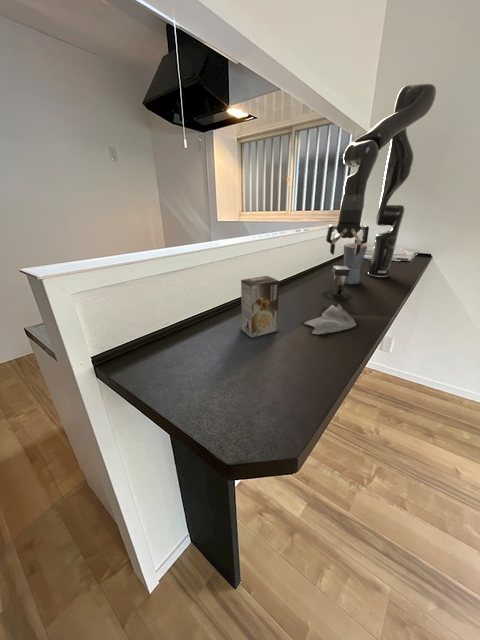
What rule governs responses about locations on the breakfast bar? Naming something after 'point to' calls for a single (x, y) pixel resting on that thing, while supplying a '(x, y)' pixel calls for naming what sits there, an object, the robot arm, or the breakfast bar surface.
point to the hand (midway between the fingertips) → (343, 254)
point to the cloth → (332, 321)
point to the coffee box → (259, 305)
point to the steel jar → (339, 280)
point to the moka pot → (353, 262)
